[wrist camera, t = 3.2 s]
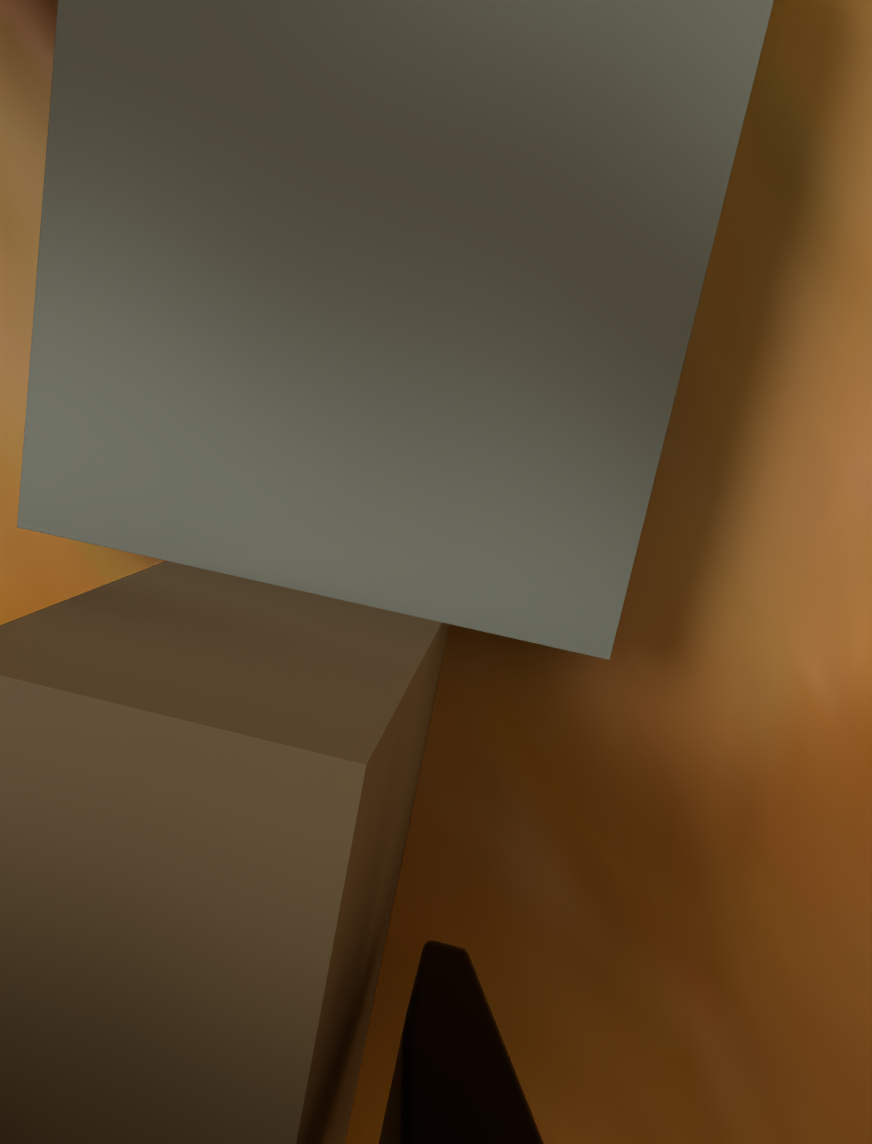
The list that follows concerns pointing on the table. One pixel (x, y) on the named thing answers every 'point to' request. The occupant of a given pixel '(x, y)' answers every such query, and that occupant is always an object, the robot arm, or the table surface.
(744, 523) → the table surface
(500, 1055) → the robot arm
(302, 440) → the turner
